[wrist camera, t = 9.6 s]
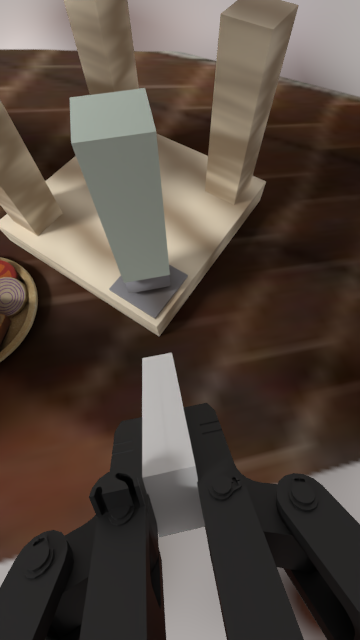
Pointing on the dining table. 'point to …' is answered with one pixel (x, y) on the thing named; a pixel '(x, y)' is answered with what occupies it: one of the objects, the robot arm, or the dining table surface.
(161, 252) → the hinged leg
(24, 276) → the toy sandwich meal
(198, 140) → the dining table surface
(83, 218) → the stool
